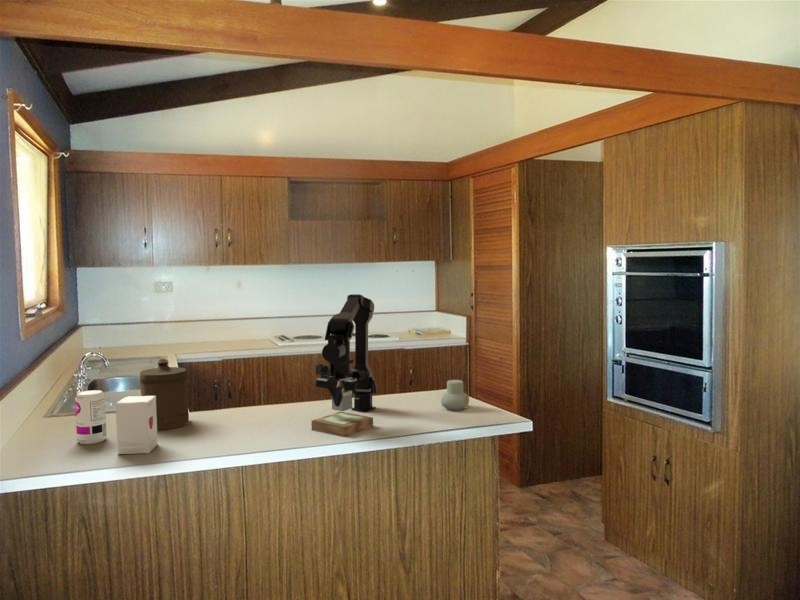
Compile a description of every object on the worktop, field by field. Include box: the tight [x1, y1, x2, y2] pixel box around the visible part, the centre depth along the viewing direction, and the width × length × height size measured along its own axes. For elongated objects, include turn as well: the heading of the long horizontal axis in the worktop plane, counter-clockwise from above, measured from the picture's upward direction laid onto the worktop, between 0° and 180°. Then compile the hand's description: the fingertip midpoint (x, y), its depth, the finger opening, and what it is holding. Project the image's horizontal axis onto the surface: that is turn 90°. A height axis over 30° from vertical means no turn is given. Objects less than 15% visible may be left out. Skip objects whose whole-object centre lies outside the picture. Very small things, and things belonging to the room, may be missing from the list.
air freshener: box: [440, 379, 470, 411], centre depth 229 cm, size 11×8×10 cm
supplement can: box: [74, 389, 108, 445], centre depth 194 cm, size 8×8×15 cm
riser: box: [311, 411, 374, 438], centre depth 205 cm, size 14×14×3 cm
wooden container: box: [139, 358, 190, 431], centre depth 212 cm, size 15×15×22 cm
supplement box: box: [115, 395, 159, 455], centre depth 185 cm, size 9×9×15 cm
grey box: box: [331, 388, 353, 412], centre depth 205 cm, size 5×5×6 cm
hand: (342, 404), depth 205 cm, fingers closed on grey box, 5 cm apart
